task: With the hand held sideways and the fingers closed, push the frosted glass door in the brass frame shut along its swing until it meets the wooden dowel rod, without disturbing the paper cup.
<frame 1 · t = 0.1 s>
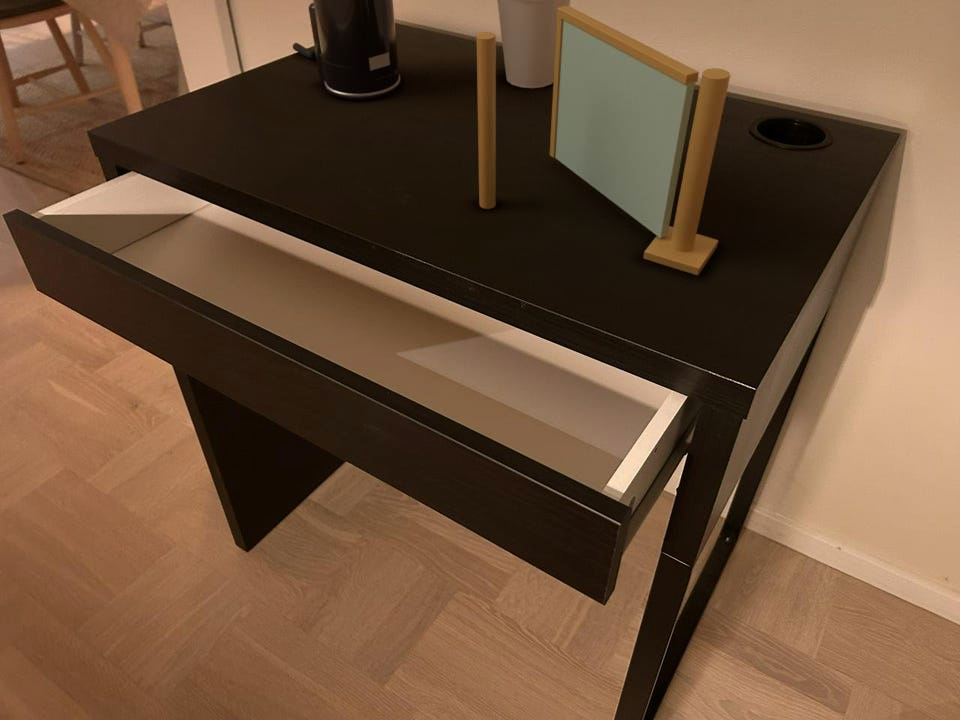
glass door: (612, 120, 67), point 8 cm above the table, hinge at 30.0°
wooden dowel rod: (487, 204, 73), on the table
foam cup: (530, 79, 95), on the table
hinge post: (664, 248, 67), on the table
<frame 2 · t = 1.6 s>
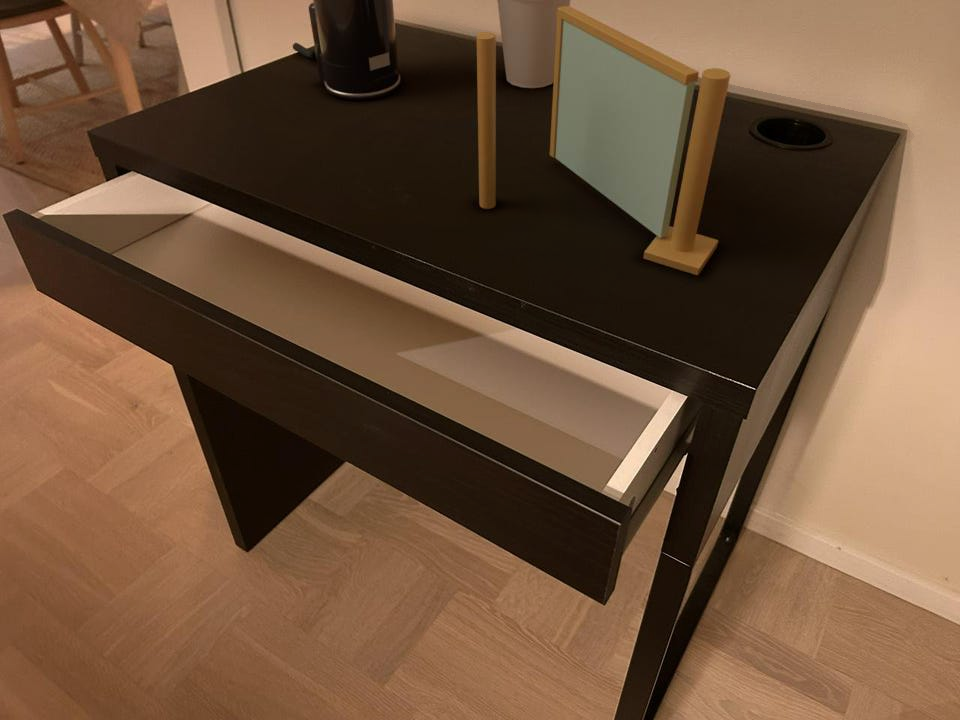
nothing on the table moved.
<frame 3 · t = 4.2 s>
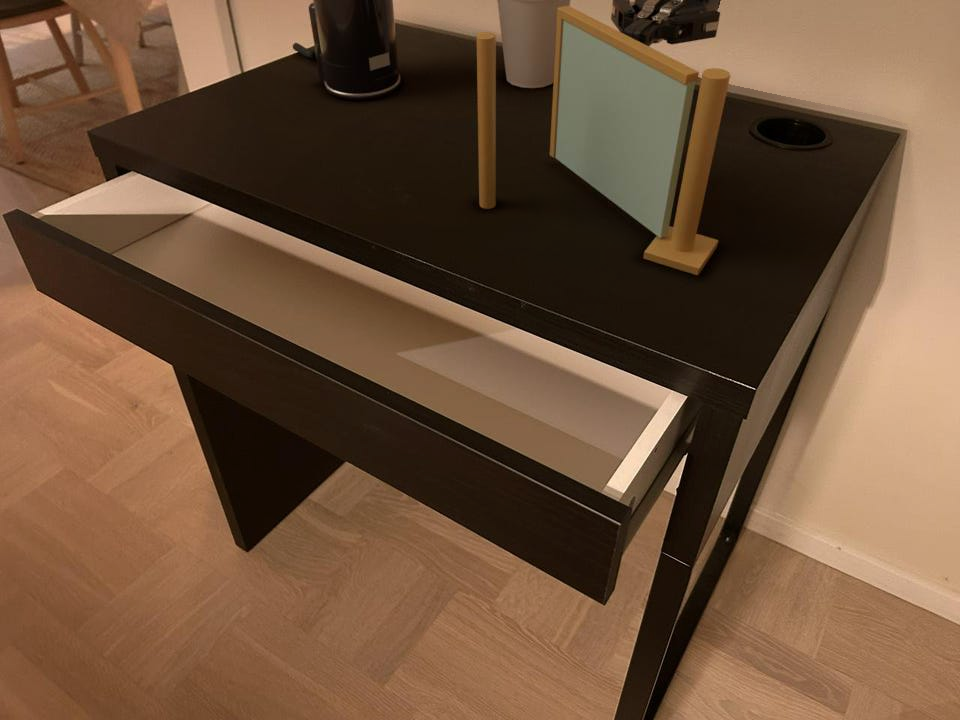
hand: (632, 41, 77), 10 cm above the table, tool horizontal, fingers closed
nothing on the table moved.
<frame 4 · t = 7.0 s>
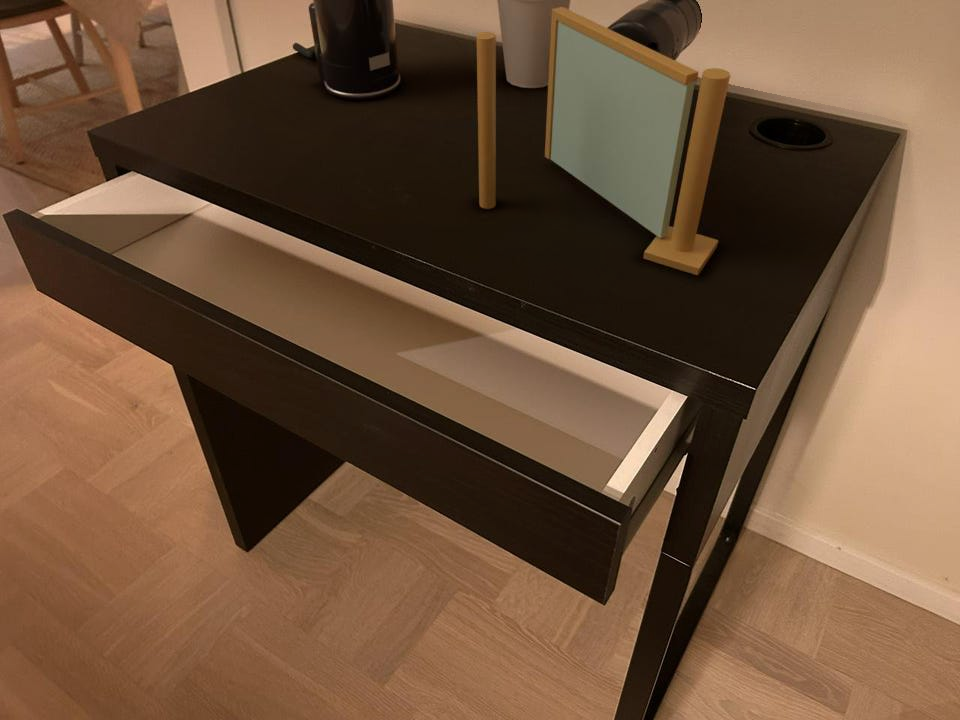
hand: (573, 101, 72), 8 cm above the table, tool horizontal, fingers closed
glass door: (609, 120, 67), point 8 cm above the table, hinge at 28.0°, touching gripper
everything else where it was.
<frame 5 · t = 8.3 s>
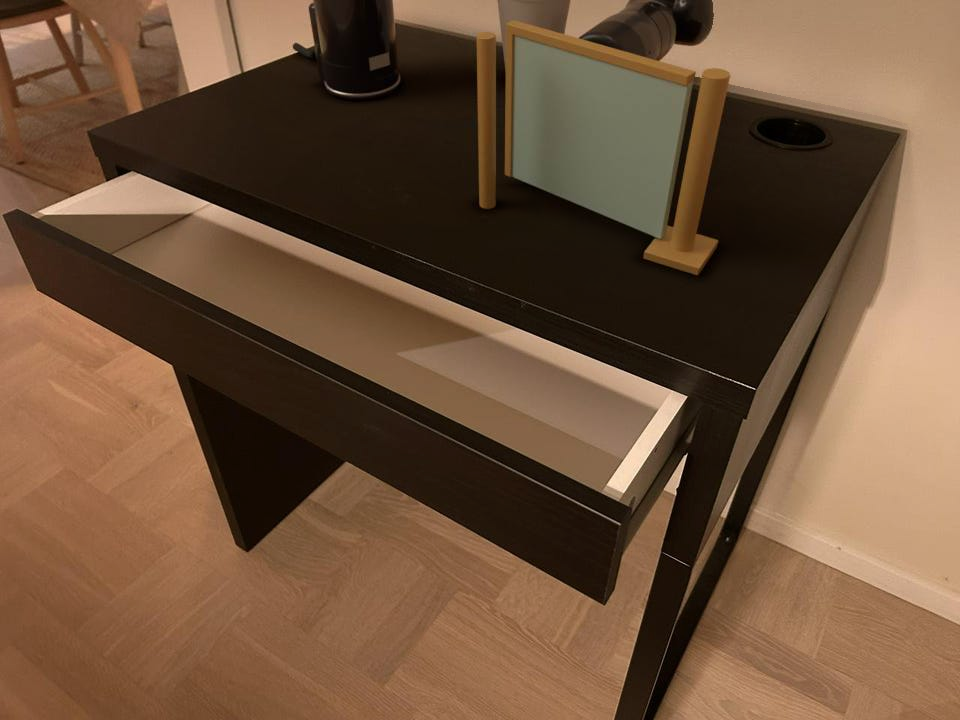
hand: (537, 117, 70), 7 cm above the table, tool horizontal, fingers closed
glass door: (587, 130, 66), point 8 cm above the table, hinge at 10.3°, touching gripper
everything else where it was.
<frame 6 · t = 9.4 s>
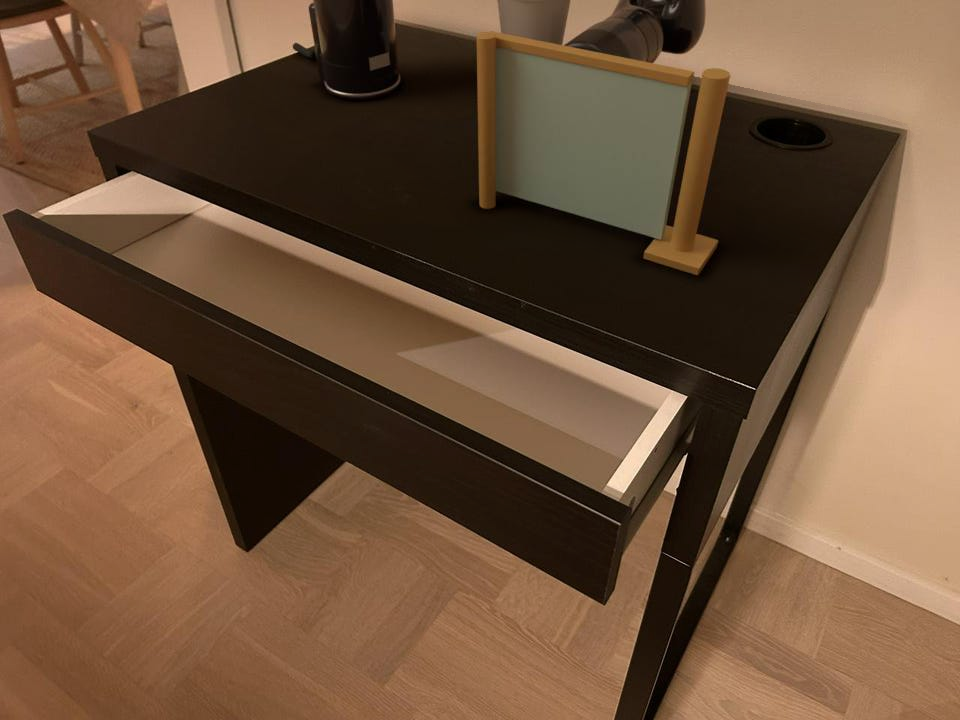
hand: (518, 129, 68), 7 cm above the table, tool horizontal, fingers closed
glass door: (577, 137, 65), point 8 cm above the table, hinge at -0.2°, touching gripper
everything else where it was.
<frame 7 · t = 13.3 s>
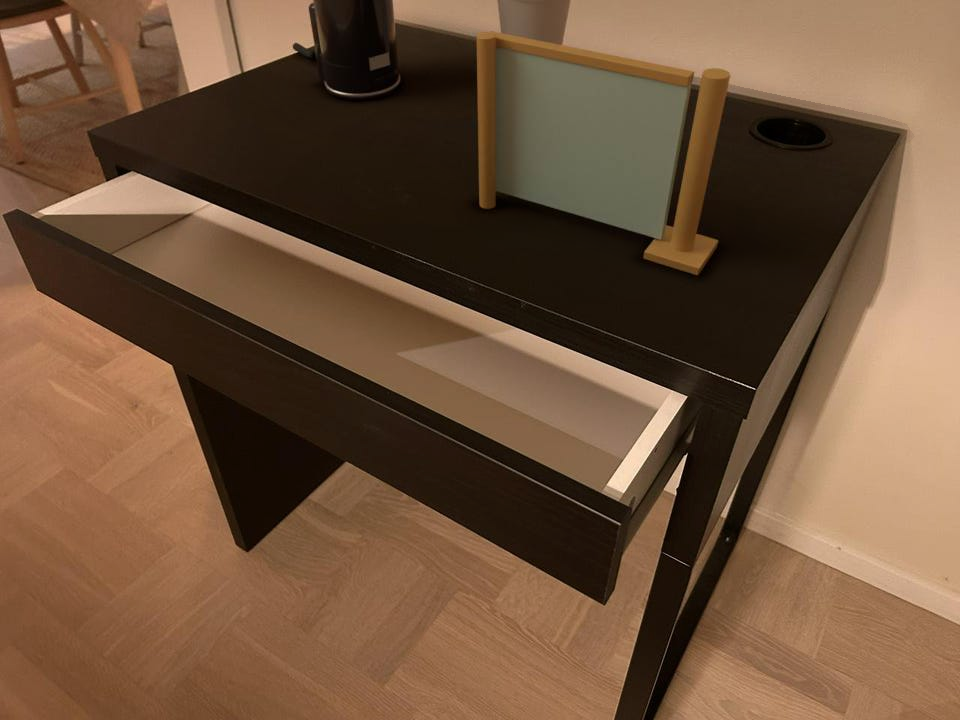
glass door: (577, 137, 65), point 8 cm above the table, hinge at -0.2°
everything else where it was.
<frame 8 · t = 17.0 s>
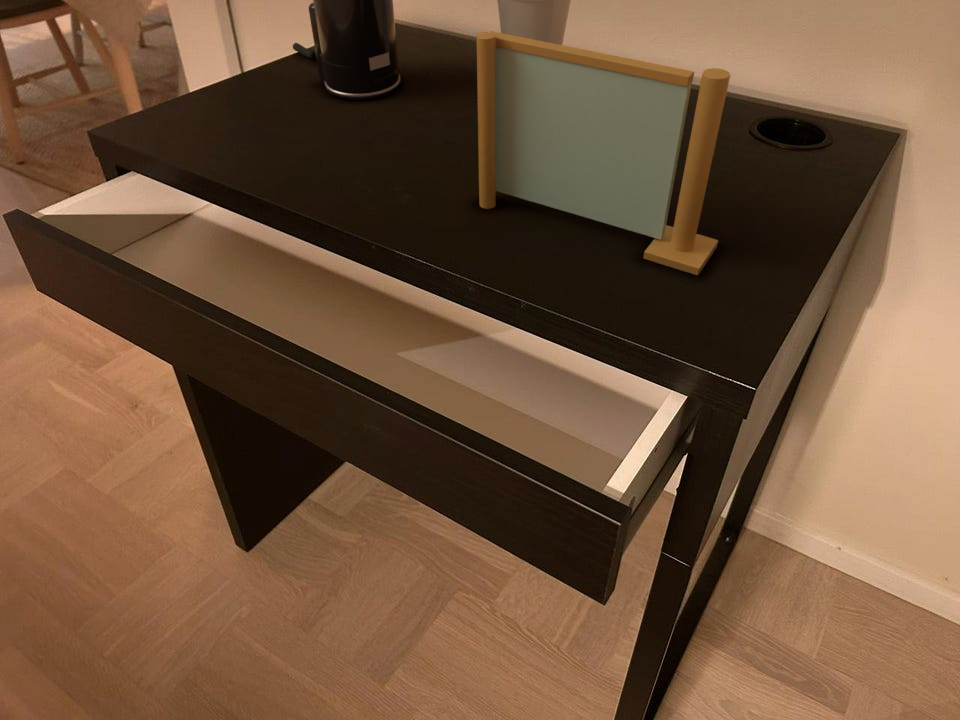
nothing on the table moved.
at the end: glass door at +0° (first picture: +30°); foam cup moved 0.2 cm from its start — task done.
